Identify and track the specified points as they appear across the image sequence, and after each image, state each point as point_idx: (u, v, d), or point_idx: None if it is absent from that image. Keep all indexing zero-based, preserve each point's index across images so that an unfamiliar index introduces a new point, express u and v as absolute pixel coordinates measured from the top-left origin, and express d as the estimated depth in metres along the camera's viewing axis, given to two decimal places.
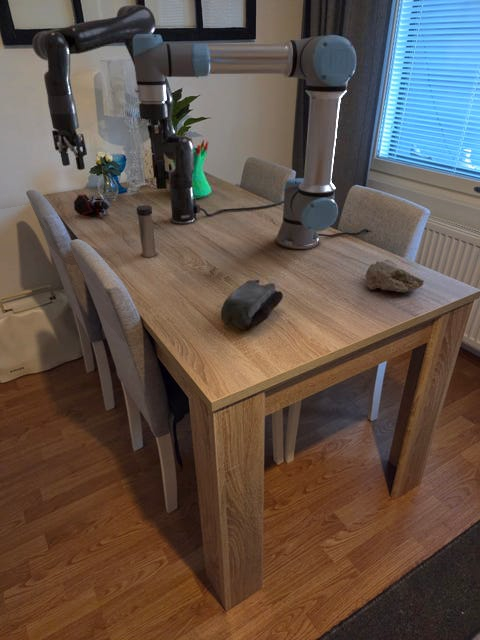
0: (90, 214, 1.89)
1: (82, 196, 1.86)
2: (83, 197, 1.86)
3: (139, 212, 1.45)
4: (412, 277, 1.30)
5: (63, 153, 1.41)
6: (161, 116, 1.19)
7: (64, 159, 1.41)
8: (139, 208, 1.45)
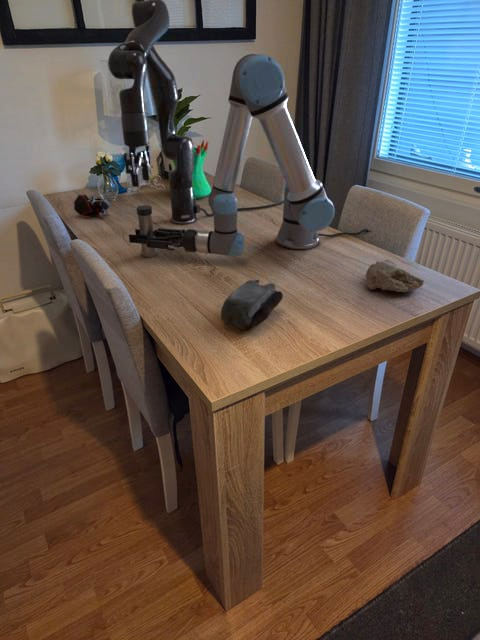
0: (90, 214, 1.89)
1: (82, 196, 1.86)
2: (83, 197, 1.86)
3: (139, 212, 1.45)
4: (412, 277, 1.30)
5: None
6: None
7: None
8: (139, 208, 1.45)
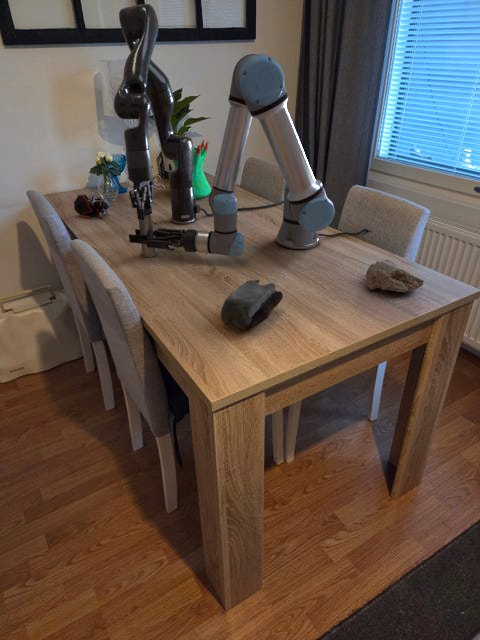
0: (90, 214, 1.89)
1: (82, 196, 1.86)
2: (83, 197, 1.86)
3: None
4: (412, 277, 1.30)
5: None
6: None
7: None
8: None
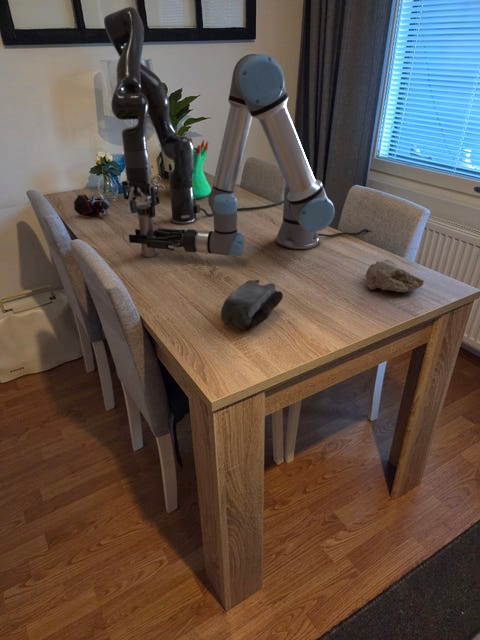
0: (90, 214, 1.89)
1: (82, 196, 1.86)
2: (83, 197, 1.86)
3: None
4: (412, 277, 1.30)
5: None
6: None
7: None
8: (146, 207, 1.45)
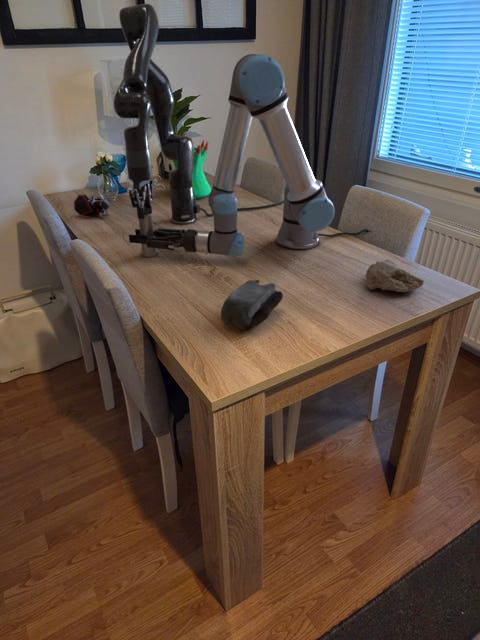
0: (90, 214, 1.89)
1: (82, 196, 1.86)
2: (83, 197, 1.86)
3: (150, 210, 1.46)
4: (412, 277, 1.30)
5: None
6: None
7: None
8: (146, 207, 1.45)
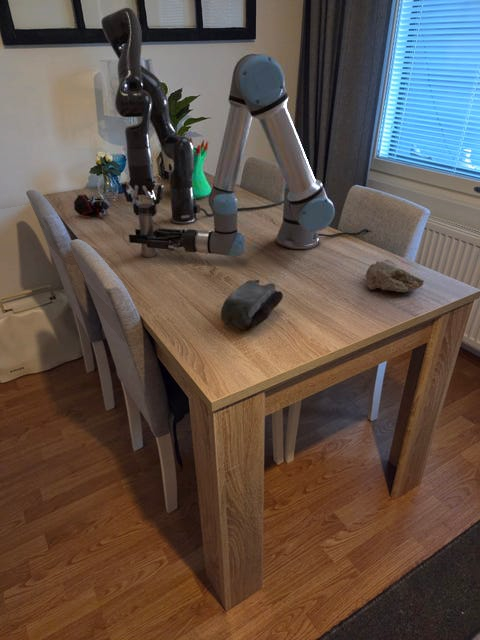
0: (90, 214, 1.89)
1: (82, 196, 1.86)
2: (83, 197, 1.86)
3: None
4: (412, 277, 1.30)
5: None
6: None
7: None
8: (148, 204, 1.47)
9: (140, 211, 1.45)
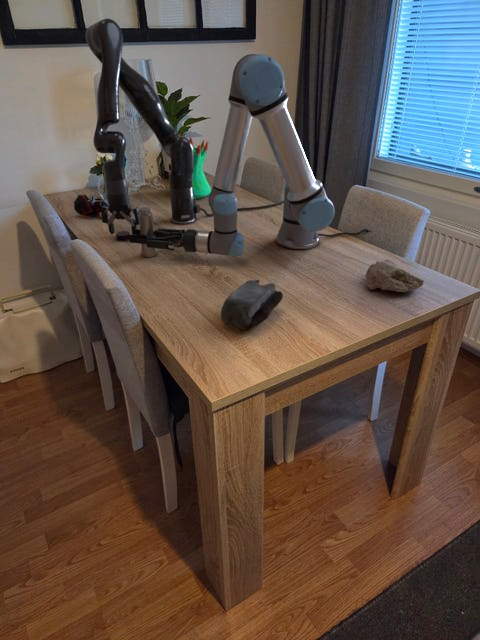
0: (90, 214, 1.89)
1: (82, 196, 1.86)
2: (83, 197, 1.86)
3: None
4: (412, 277, 1.30)
5: None
6: None
7: None
8: (126, 232, 1.68)
9: (118, 238, 1.66)
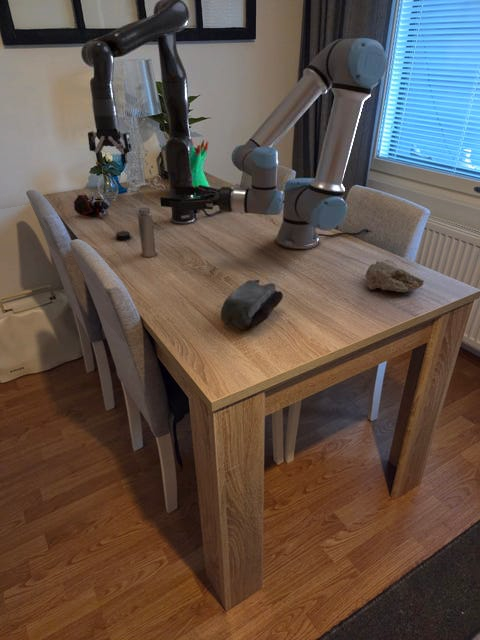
0: (90, 214, 1.89)
1: (82, 196, 1.86)
2: (83, 197, 1.86)
3: None
4: (412, 277, 1.30)
5: None
6: None
7: None
8: (126, 232, 1.68)
9: (118, 238, 1.66)
